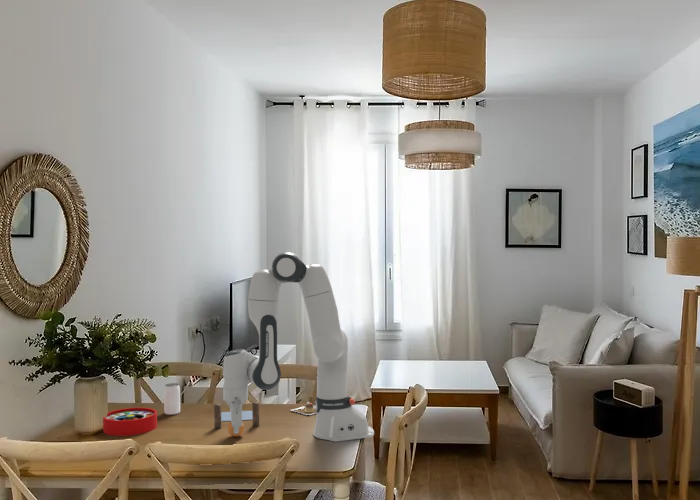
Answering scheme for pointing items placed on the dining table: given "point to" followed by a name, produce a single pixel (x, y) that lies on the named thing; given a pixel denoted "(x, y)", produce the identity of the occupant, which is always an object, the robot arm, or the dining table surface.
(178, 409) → the can
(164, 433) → the dining table surface
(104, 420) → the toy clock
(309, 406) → the dessert
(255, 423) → the right post
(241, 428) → the ball
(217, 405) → the left post
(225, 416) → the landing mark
